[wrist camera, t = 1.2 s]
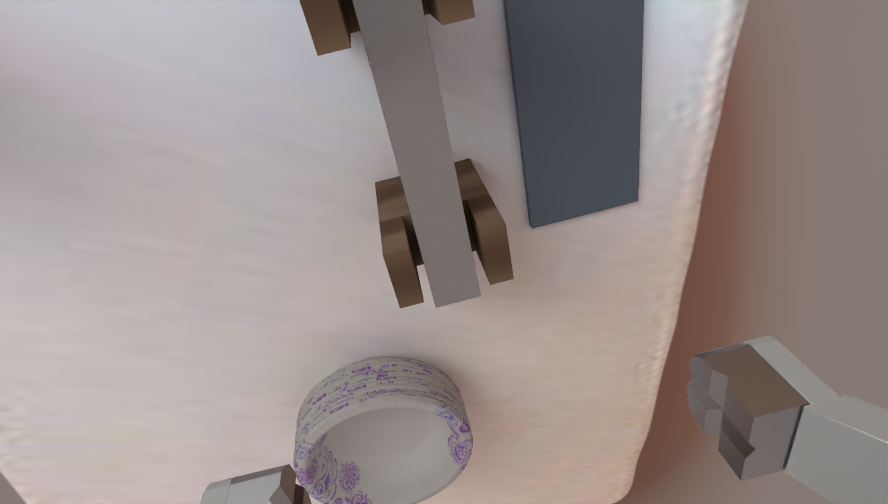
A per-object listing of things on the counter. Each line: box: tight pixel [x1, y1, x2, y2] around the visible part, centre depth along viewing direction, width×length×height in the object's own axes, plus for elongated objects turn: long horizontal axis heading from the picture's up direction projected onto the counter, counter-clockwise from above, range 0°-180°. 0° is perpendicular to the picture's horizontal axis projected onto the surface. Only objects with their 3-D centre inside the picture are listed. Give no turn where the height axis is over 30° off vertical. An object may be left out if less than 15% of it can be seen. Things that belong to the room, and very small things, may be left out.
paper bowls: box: [294, 357, 473, 504], centre depth 45 cm, size 15×15×8 cm
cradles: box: [300, 0, 514, 308], centre depth 29 cm, size 19×7×10 cm, turn 11°
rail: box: [352, 0, 481, 308], centre depth 27 cm, size 22×3×3 cm, turn 11°
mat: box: [504, 0, 644, 228], centre depth 33 cm, size 25×9×1 cm, turn 11°
